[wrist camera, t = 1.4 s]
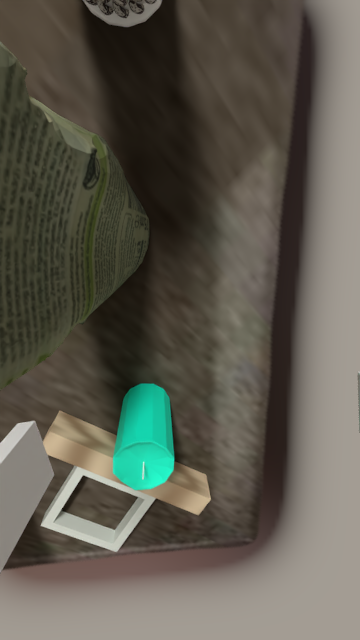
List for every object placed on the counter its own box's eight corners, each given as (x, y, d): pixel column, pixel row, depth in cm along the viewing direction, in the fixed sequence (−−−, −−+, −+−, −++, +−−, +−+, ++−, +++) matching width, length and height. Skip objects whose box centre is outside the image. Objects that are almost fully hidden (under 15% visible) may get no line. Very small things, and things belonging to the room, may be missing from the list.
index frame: (45, 512, 43) (40, 525, 41) (82, 453, 41) (78, 464, 39) (118, 538, 46) (116, 552, 44) (156, 484, 43) (157, 496, 41)
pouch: (89, 302, 35) (-54, 479, 11) (16, 206, 31) (-433, 161, 7) (172, 247, 33) (214, 313, 10) (106, 141, 30) (-81, -160, 6)
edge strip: (49, 428, 39) (38, 450, 35) (59, 410, 39) (49, 431, 35) (194, 489, 44) (198, 515, 40) (206, 474, 43) (210, 499, 40)
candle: (147, 373, 38) (143, 439, 27) (179, 403, 40) (189, 477, 28) (112, 403, 39) (94, 479, 27) (146, 431, 40) (142, 514, 29)
